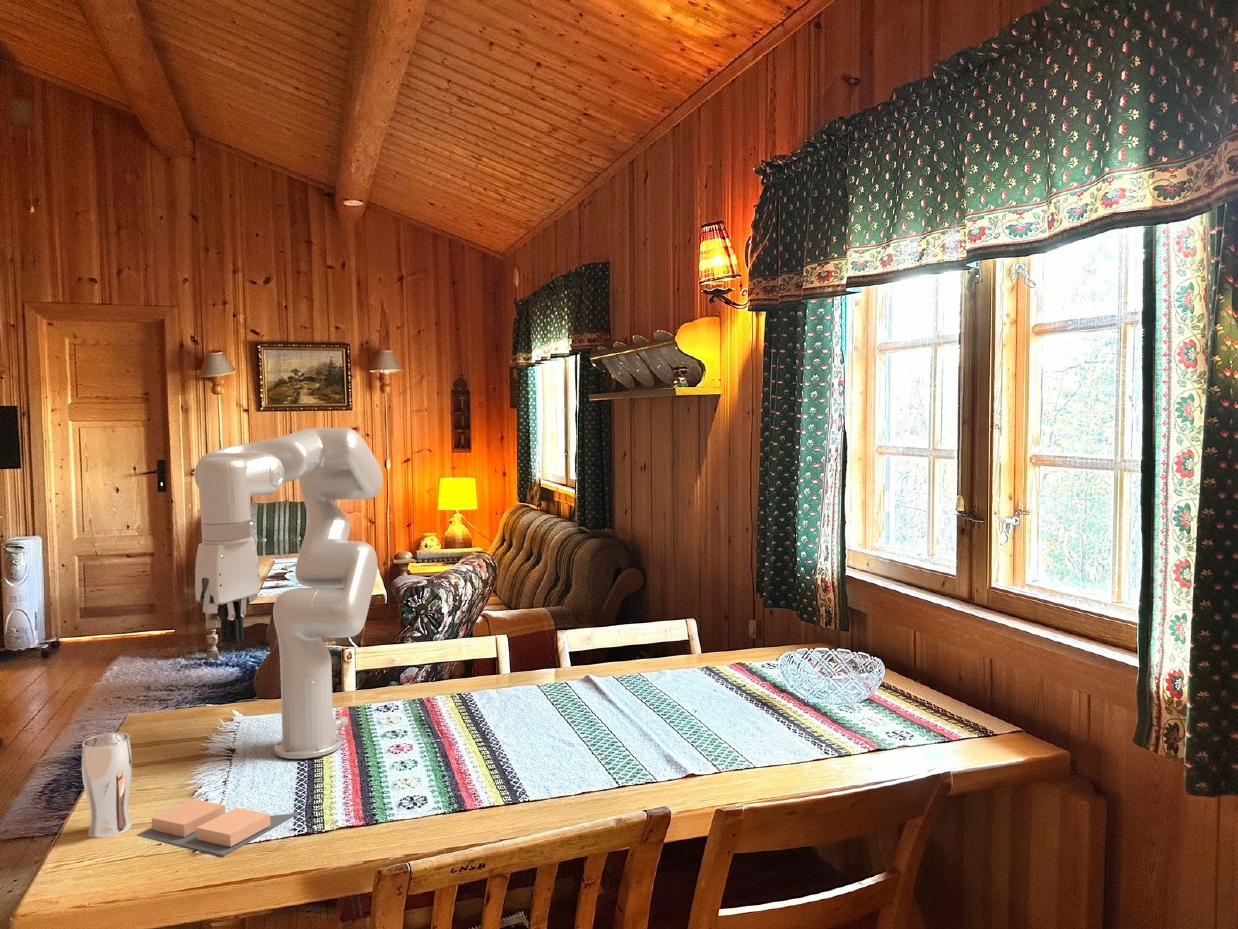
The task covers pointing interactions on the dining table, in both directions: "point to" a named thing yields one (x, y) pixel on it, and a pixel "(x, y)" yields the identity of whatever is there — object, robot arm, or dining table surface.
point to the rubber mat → (208, 847)
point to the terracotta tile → (187, 817)
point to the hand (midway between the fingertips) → (233, 641)
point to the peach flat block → (233, 827)
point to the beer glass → (107, 782)
